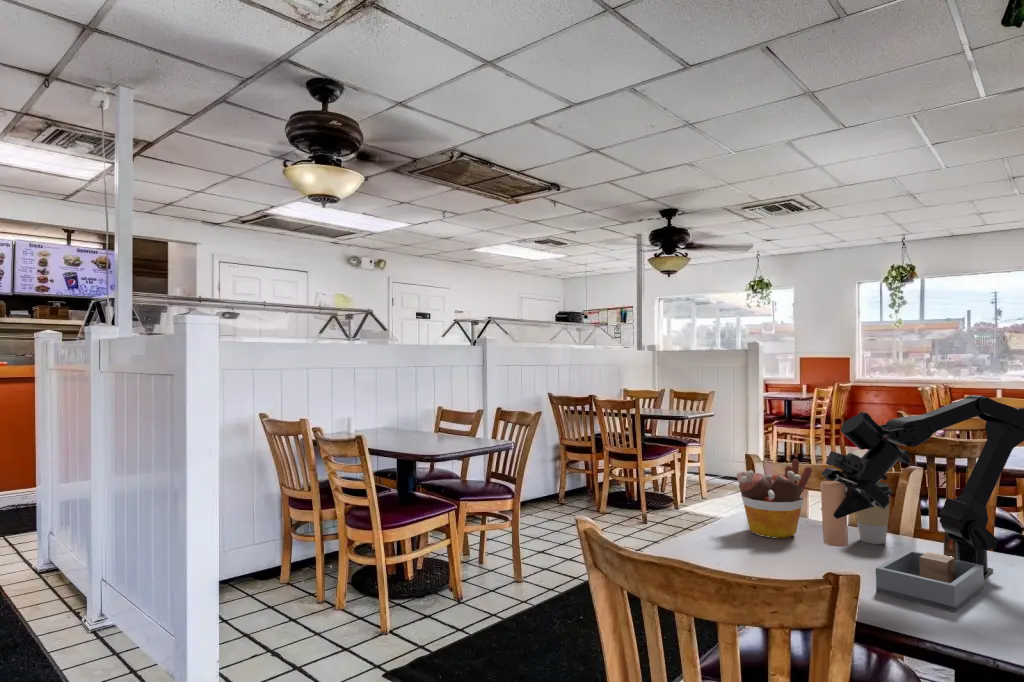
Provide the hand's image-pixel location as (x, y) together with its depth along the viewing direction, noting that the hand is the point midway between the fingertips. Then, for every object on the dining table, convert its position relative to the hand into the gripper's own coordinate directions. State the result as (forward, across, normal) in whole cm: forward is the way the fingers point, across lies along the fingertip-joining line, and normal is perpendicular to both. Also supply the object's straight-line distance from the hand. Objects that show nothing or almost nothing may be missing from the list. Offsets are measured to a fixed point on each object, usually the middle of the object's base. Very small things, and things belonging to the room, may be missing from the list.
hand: (828, 514), depth 142 cm
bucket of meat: (+9, -33, +11) cm, 36 cm away
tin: (-16, -13, +37) cm, 42 cm away
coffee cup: (-7, -24, +27) cm, 37 cm away
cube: (-4, +8, +22) cm, 24 cm away
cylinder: (+4, 0, +6) cm, 7 cm away
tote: (-1, +10, +21) cm, 23 cm away
